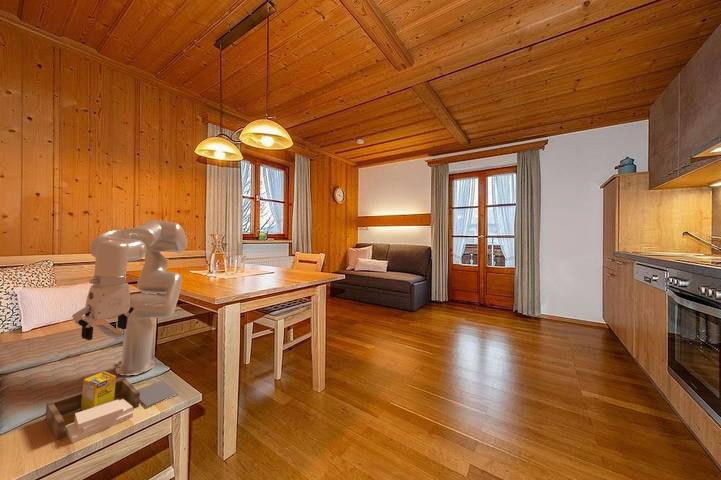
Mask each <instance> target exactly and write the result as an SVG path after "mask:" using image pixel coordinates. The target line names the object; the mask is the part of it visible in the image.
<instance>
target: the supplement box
mask: <svg viewBox="0 0 721 480" xmlns="http://www.w3.org/2000/svg"><path fill="white" fill-rule="evenodd" d="M116 381H117V376H116V375H114V374H112V373H109V372H108V371H105V370H104V371H101V372H99V373H96V374H94V375H91V376H88V377H86V378H84V379H83V380H82V389H81V392H82V400H81V409H80V412H81V411H84V410H87V409H90V408H93V407H96V406H99V405H103V404H106V403H109V402H112V401H115V396H114V393H115V382H116Z"/></svg>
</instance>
